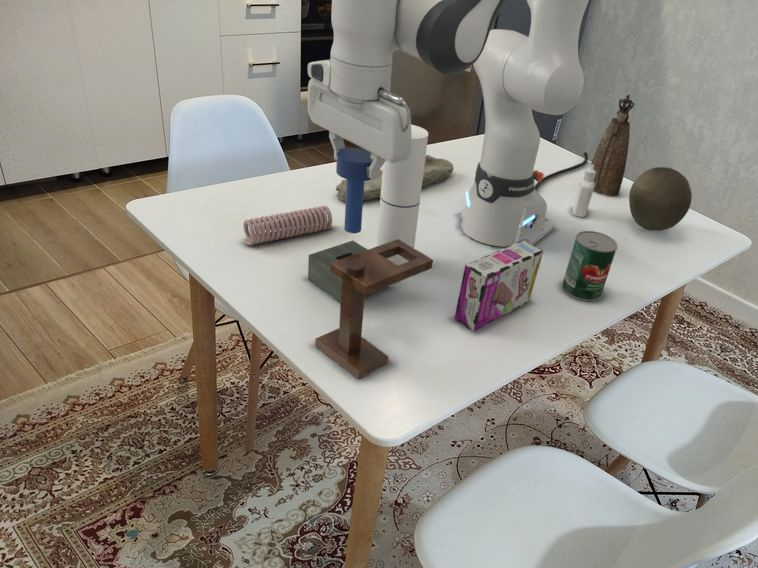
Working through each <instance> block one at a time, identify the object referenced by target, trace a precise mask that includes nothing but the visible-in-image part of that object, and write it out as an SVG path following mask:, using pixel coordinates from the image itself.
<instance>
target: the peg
mask: <svg viewBox="0 0 758 568" xmlns="http://www.w3.org/2000/svg"><path fill="white" fill-rule="evenodd" d="M372 161H373V159H371V152H369V151H367V150H365V149H363V148H361V147H345V148H344V149H341V150H339V151H338V152H337V160H336V164H335V165H336V167H335V168H336V169H335V172H336V174H337V176H339V177H340V178H342V179H343V180H347V185H346V202H345V204H344V205H345V207H344V228H343V229H344V231H345V232H346V233H349V234H359V233H361V231H362V225H363V224H362V223H363V207H364V200H363V195H364V181H368V180H371V179H370V178H368V177H366V176H365V173H366V171H365V169H366V166H370V165H371V163H372Z"/></svg>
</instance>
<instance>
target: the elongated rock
mask: <svg viewBox="0 0 758 568" xmlns="http://www.w3.org/2000/svg"><path fill="white" fill-rule="evenodd" d="M453 173H454V165H453V163H452V162H451V161H449V160H447V159H445V158H437V157H434V156H431V155H430V154H428V155H427V154H426V157H425V165H424V173H423V181H422V187H426V186H429V185H430V184H434V183H440V182H442V181H444V179H445V178H448V177H449V176H451V175H452V174H453ZM382 174H383V169H380V177H379V178H378V179H375V180H372V179H371V180H368V181H364V195H363V201H370V200H372V199H379V198H380V197H381V186H382ZM346 185H347V179H341V182H340V183H339V184H337V185H336V186H335V191H336V192H337V194H336V196H337V198H338V199H339V200H341V201H342V202H344V203H346Z"/></svg>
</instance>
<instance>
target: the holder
mask: <svg viewBox="0 0 758 568" xmlns="http://www.w3.org/2000/svg"><path fill="white" fill-rule="evenodd" d="M365 250H368V249H367V248H366V247H365V246H363V245H361V244H360V243H358V242H357V241H355V240H349V241H347V242H343V243H341V244H338V245H335V246H332V247H329V248H325V249H322V250H319V251H316V252H313V253H310V254H308V261H307V263H308V266H307V278H308V279H307V280H308V281H310V282H311V283H312V284H314V285H315V286H316V287H318V288H319V289H321V290H322V291H324V292H325V293H326V294H328V295H329V296H330V297H332V298H333V299H335V300H336V301H338V302H339V303H341V287H342V279H340V278H339V277H337V276H336V275H334V274H333V273H332V272H330V263H331V262H334V261H337V260H340V259H342V258H345V257H348V256H351V255H354V254H357V253H360V252H363V251H365ZM388 288H389V286H387V287H385V288H382V289H380V290H377V291H375V292H373V293H370V294H368V295H365V297H364V298H366V297H370V296H371V295H374V294H376V293H379V292H381V291H384V290H386V289H388Z"/></svg>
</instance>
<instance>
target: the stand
mask: <svg viewBox="0 0 758 568" xmlns="http://www.w3.org/2000/svg"><path fill="white" fill-rule="evenodd" d="M397 254H398V255H400V256H401V257H403V258H405V259H406V260H408V261H409V262H406V263H404V264H401V265H399V266H397V265H396V264H394V263H393V262H391V261H389V260H388V259H387V258H389V257H392V256H395V255H397ZM433 264H434V259H432V258H431V257H429V256H427V255H426V254H424V253H423V252H421V251H419V250H417V249H416V248H415V247H414V248H412V247H411V246H409V245H407V244H406V243H404V242H402V241H401V240H399V239H397V240H394V241H391V242H388V243H386V244H383V245H380V246H377V247H376V246H374V247H371V248H369V249H368V250H365V251H363V252H360V253H357V254H354V255H351V256H348V257H345V258H342V259H340V260H337V261H334V262H331V263H330V272H332V273H333V274H334V275H336V276H337V277H339V278H340V279H342V287H341V302H340V308H339V326H338V328H336V329H334V330H331V331H329V332H327V333H325V334H322V335H320V336H318V337H316V338H315V339H314V340H315V341H314V346H315V347H316V348H317V349H318V350H319V351H321V352H322V353H323V354H325V355H326V356H328V357H329V358H330V359H331V360H333V361H334V362H335V363H337V364H338V365H339V366H341V367H342V369H344V370H345V371H347V372H348V373H349V374H351V375H352V376H353V377H354V378H356V379H357V380H359V379H361V378H363V377H365V376H367V375H369V374H370V373H373V372H375V371H376V370H378V369H380V368H383V367H384V366H386V365H388V363H389V355H388V354H386V353H385V352H383V351H382V350H381V349H379V348H378V347H376V346H375V345H374V344H372V343H371V342H369V341H368V340H367V339H365V338H364V337H362V334H363V333H362V332H363V321H364V320H363V319H364V310H365V309H364V308H365V307H364V306H365V298H366V297H365V295H368V294H370V293H373V292H375V291H377V290H380V289H382V288H385V287H387V286H388V287H390V286H392V285H395V284H397V283H400V282H402V281H405V280H407V279H409V278H412V277H415V276H416V275H419V274H422V273H424V272H427V271H429V270H431V269H433Z"/></svg>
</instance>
